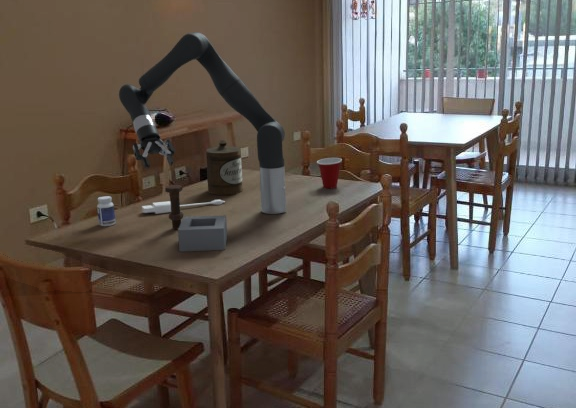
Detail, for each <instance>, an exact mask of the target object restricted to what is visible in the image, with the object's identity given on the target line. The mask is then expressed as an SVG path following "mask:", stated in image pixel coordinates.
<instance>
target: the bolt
mask: <svg viewBox="0 0 576 408" xmlns="http://www.w3.org/2000/svg"><path fill="white" fill-rule="evenodd" d="M181 191H183V186H182V185H180V184H170V185H168V186H166V187H165V193H168V195H169V200H170V204H171V212H169V214H168V219H169V220H170V221H171V225H172V226H171V227H172V229H174V230H178V229H179V226H180V224H181V222H182V219H183V217H184V213H183V212H182V211H181V207H180V205H181V204H180V203H181V200H180V192H181Z"/></svg>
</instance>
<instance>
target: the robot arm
mask: <svg viewBox="0 0 576 408" xmlns="http://www.w3.org/2000/svg"><path fill="white" fill-rule="evenodd" d="M193 60H196V61H197V62H198V63H199V64H200V65H201V66H202V67H203V68H204V70H206V71H207V73H208V75H209V77H210V78H211V80H212V83H213V84H214V85H213V86H214V88H215V89H216V91H217V92H218V94H219V95H220V96H221V98H223V100H224V101H225V102H226V103H227V104H228V105H229V106H230V107H231V108H232V109H233V110H234V111H236V112H237V113H238V114H240V115H241V116H242V117H243V118H245V119H246V120H248V122H249V123H250V124H251V125H252V127H253V128H254V129H255V130H256V132H257V133H256V147H257V159H258V164H259V182H260V183H259V184H260V185H259V186H260V187H259V188H260V190H259V191H260V208H261V209H260V210H261V213H264V214H267V215H277V214H281V213H286V212H287V204H286V203H287V202H286V201H287V200H286V179H285V178H286V175H285V158H284V155H283V154H284V153H283V152H284V151H283V141H284V140H285V136H286V133H285V129H284V127H283V126H282V125H281V124H280V122H278V121H277V120H276V119H275V118H274V117H273V116H272V115H271V114H270V113H269V112H268V111H267V110H266V109H265V108H264V107H263V106H262V104H260V102H259V100H258V99H257V98H256V96H255V95H254V94H253V93H252V91H251V90H250V89H249V88H248V87H247V85H246V84H245V83H244V82H243V80H242V79H241V78H240V77H239V76H238V75H237V74H236V73H235V71H233V69H232V68H231V67H230V65H228V64H227V62H225V61H224V60H223V58H222V57H221V55H219V53H218V52H217V50H216V49H215V47H214V46H213V44H212V43H211V41H210V40H209V39H208V38H207V36H205V35H204V34H203V33H201V32H198V31H196V32H188V33H186V34H184V35H183V36H182V37H181V38H180V39H179V40H178V41H177V42H176V44H175V45H174V46H173V48H172V49H170V51H169V52H168V53H167V54H166V55H165V56H164V57H163V58H162V59H160V61H158V62H157V63H156V64H155V65H153V66H152V67H150V68H149V69H148V70H147V71H146V72H145V73H143V74H142V75H141V76H140V77H139V79H138V85H139V87H140V88H138V87H136V86H134V85H131V84H128V83H127V84H123V85H122V86H121V87H120V89H119V91H118V97H119V100H120V102H121V105H123V107H124V109H125V110H126V112H127V113H128V115H129V116H130V119H131V121H132V125H133V127H134V128H133V129H134V132H135V134H136V136H137V139H138V141H139V142H138V143H137V142H134V143H133V145H132V150H133V154H134V158H135V160H136V161H142V164H143V166H144V168H146V169H147V170H149V169H150V167H151V164H150V162H149V160H148V154H149V155H150V156H151V155H154V154H156V155H157V154H160V155H161V156H164V157H165V158H166V160H167V162H168V164H169V166H170V167H171V166H173V164H174V158H173V156H174V155H175V152H176V149H175V147H174V145H173V142H172V141H171V139H170V138H167V139H166V140H162V138H161V136H160V133H159V131H158V129H157V126H156V123H155V121H154V119H153V117H152V116H151V113H150V110H149V109H148V107H147V106H146V104H147V103H148V101H149V99H150V98H151V96H152V95H153V93H154V92H155V91H156V90H157V89H158V90H159V88H160V87H161V86H163V85H164V84H165V83H166V82H167V81H168V80H169V79H170V78H171V76H172V75H173V74H174V73H175V72H176V71H177V70H179V69H180V68H181V67H182V66H184V65H186V64H187V63H190V62H192V61H193ZM140 149H141V150H143V153H142V154H141V152H140Z"/></svg>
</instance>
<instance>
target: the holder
mask: <svg viewBox="0 0 576 408" xmlns="http://www.w3.org/2000/svg"><path fill="white" fill-rule="evenodd" d="M227 226H228V225H227V215H226V214H224V215H222V214H221V215H202V216H201V215H198V216H197V215H196V216H183V218H182V219H181V224H180V226H179V229H177V233H178V234H177V235H178V249H179V252H197V251H198V252H200V251H201V252H202V251H203V252H204V251H223V250H226V245H227V239H228V227H227Z"/></svg>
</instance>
